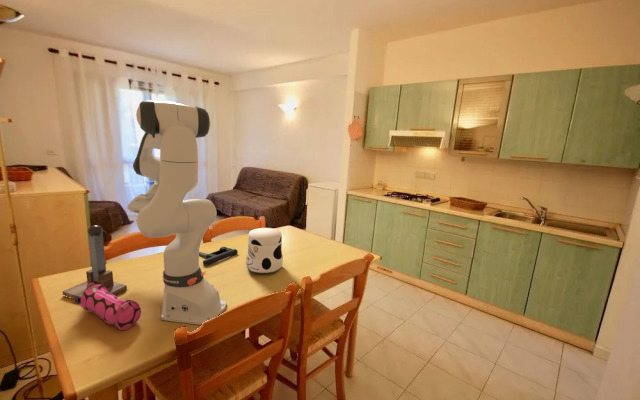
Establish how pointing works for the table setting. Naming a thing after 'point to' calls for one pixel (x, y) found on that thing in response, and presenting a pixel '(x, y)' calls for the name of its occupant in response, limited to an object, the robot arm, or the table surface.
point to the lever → (96, 251)
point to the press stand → (103, 279)
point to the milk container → (264, 250)
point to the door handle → (218, 255)
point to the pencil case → (110, 306)
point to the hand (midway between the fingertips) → (139, 222)
